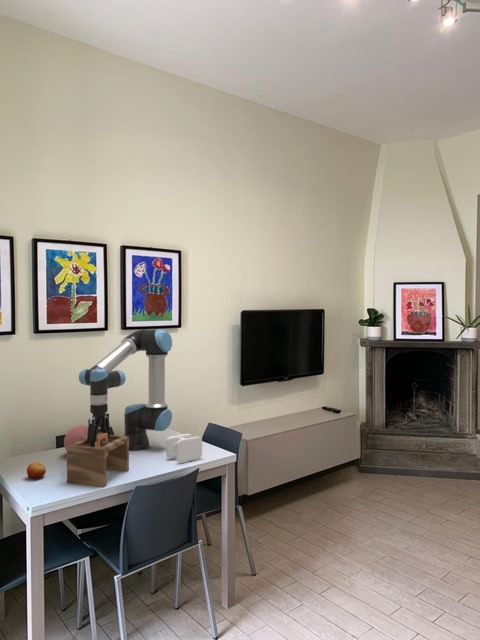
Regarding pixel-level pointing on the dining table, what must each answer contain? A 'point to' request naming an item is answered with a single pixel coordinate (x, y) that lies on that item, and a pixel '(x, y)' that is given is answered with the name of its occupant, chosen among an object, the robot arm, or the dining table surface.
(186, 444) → the cable organizer
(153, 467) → the dining table surface
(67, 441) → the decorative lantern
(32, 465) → the fruit
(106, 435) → the orange arch block
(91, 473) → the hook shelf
